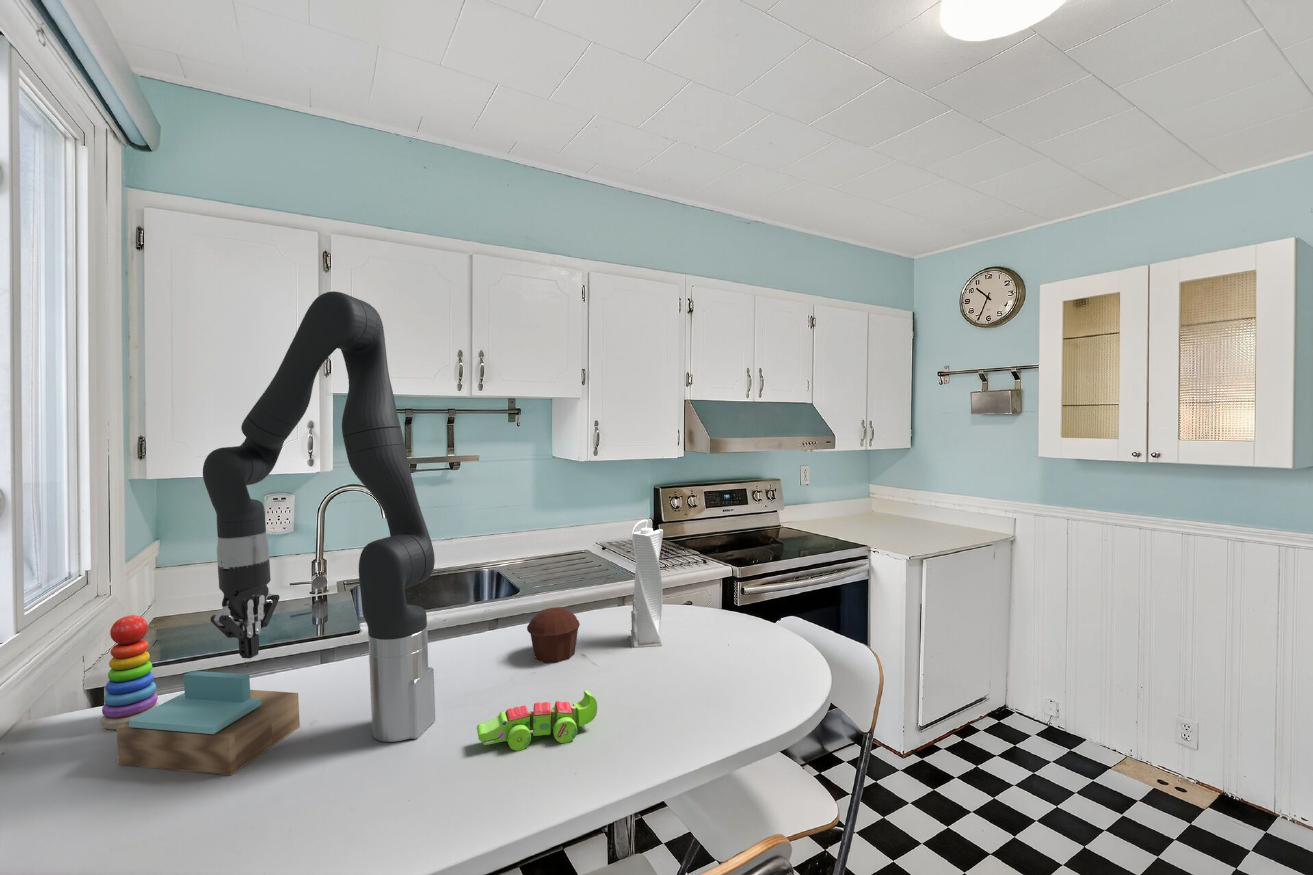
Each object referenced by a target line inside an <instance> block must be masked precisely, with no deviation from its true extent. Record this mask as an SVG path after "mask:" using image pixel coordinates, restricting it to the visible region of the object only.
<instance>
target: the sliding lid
mask: <svg viewBox="0 0 1313 875" xmlns="http://www.w3.org/2000/svg"><path fill="white" fill-rule="evenodd" d="M183 688H184V692H183V693H180V694H178V695H176V696H174V697H173V698H171V699H169V700H167V701H165V702H163V703H161V704H159V706H157V707H155V708H153V709H151V710H149V711H147V712H145V713H143V714H141V715H139V716H137V717H135V718H133V719H131V720H129V727H135V728H147V729H159V730H171V731H183V732H194V733H206V734H215V733H216V732H218V731H220V730H221V729H223V728H224V727H226V726H228V725H229V724H231V723H233V722H234V721H236V720H238V719H239V718H241V717H242V716H244V715H246V714H247V713H249V712H251V711H252V710H254V709H256V708H257V707H259V706H260V705H262V703H261V699H256V698H251V695H250V690H251V678H250V674H249V673H248V674H245V673H231V672H219V671H217V672H215V671H202V670H200V671H199V670H190V671H189V672H186V673H184V674H183Z"/></svg>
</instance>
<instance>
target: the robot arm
mask: <svg viewBox="0 0 1313 875" xmlns="http://www.w3.org/2000/svg"><path fill="white" fill-rule="evenodd" d="M337 349H339V350H340V351H341V354H342V357H343V361H344V364H345V368H346V373H347V378H348V391H347V397H346V401H345V404H344V405H345V406H344V408H343V413H342V419H341V431H342V432H341V434H342V438H343V443H344V447H345V452H346V453H345V454H346V457H347V460H348V461H347V462H348V464H349V467H350V469H351V470H352V472H353V474H354V475H355V476H356V478H358V480H359V481H360V483H361V484H362V485H363V486H364V487H365V489H367V490H368V491H369V493H370V494H371V495H372V496H373V497H374V498H375V500H376V501H377V502H378V504H379V506H380V507H381V509H382V511H383V514H384V516H385V519H386V522H387V526H388V530H389V531H388V532H389V535H390V536H387V537H383V538H379V539H377V540H372V541H371V542H368V543H367V544H366V545H365V546H364V547H363V548H362V551H361V553H360V555H359V560H358V580H359V590H360V600H361V609H362V614H363V618H364V621H365V622H366V625H367V630H368V631H367V634H368V635H367V636H368V637H367V638H368V660H369V661H368V662H369V682H370V683H369V685H370V686H369V688H370V710H371V711H370V712H371V714H370V715H371V730H372V731H371V733H372V737H373V738H374V739H375V740H378V741H380V742H384V743H385V742H386V743H390V742H395V743H396V742H401V741H404V740H405V741H406V740H409V739H414V740H416V739H418V738H420V736H421V735H422V734H423V733H424V732H425V731H427V729H428V728H429V727H430V726H431V725H432V724H433V723H434V722H435V721H436V697H435V675H434V673H435V672H434V671H435V669H434V668H433V667H431V666H429V646H428V645H429V644H428V617H427V615H428V614H427V612H426V610H425V609H424V608H423V607H422V606H419V605H414V604H407V599H406V589H408V588H411V587H414V586H416V585H418V584H421V583H423V582H425V581H427V580H428V579H429V578H430V577H431V575H433V571H434V568H435V561H436V560H435V552H434V551H435V550H434V547H433V543H432V542H433V541H432V539H431V537H430V533H429V531H428V530H429V529H428V528H427V525H426V521H425V519H424V516H423V515H424V514H423V513H422V510H421V506H420V504H419V500H418V496H417V493H416V488H415V486H414V485H415V484H414V481H413V478H412V477H413V476H412V473H411V469H410V464H409V461H408V459H409V458H408V455H407V450H406V443H405V438H404V436H403V431H402V427H401V426H402V425H401V423H400V418H399V415H398V414H399V413H398V411H397V410H398V409H397V406H396V402H395V396H394V393H393V392H394V391H393V387H392V383H391V378H390V374H389V373H390V372H389V366H388V365H389V364H388V357H387V348H386V338H385V330H384V324H383V321H382V318H381V315H380V314H379V312H378V311H377V309H376V308H375V307H373V306H372V304H370V303H368V302H366V301H365V300H362V299H359V298H357V297H354V296H352V295H349V294H346V293H344V292H340V291H327V292H324V293H322V294H320V295H318V296H317V297H315V299H314V300H313V301H312V303H311V304H310V306H309V307H308V309H307V311H306V312H305V314H304V316H303V318H302V319H301V322H300V324H299V327H298V328H297V331H296V333H295V336H294V337H293V339H292V341H291V343H290V345H289V347H288V349H287V351H286V353H285V355H284V357H283V359H282V361H281V363H280V365H279V367H278V369H277V371H276V373H275V374H274V375H273V376H274V377H273V378H272V379H271V381H270V383H269V384H268V385H267V387H266V388H265V390H264V392H263V393H262V394H261V396H260V397H259V398H258V400H257V401H256V402H255V404H254V405H253V406H252V408H251V410H250V411H249V412H248V413H247V415H246V416H245V417H244V419H243V420H242V422H241V423H242V424H241V428H240V429H241V433H242V434H243V435H244V436H245V439H244V441H243V442H242V443H241V444H240V445H237V446H235V445H234V446H227V447H219V448H217V449H213V450H212V451H210V452H209V453H208V455H207V456H206V458H205V460H204V462H203V464H202V465H203V467H202V479H203V482H204V486H205V488H206V491H207V494H208V496H209V499H210V502H211V504H212V507H213V508H214V510H215V514H216V530H217V532H216V533H217V546H216V560H217V562H216V563H217V572H218V573H217V575H218V578H217V579H218V588H219V590H220V591H221V592H222V594H223V598H222V602H221V607H222V608H221V609H220V611H219V612H218V614H212V615H211V616H210V618H209V619H210V623H212V624H213V626H215V627H216V628H217V629H218V630H219V631H220V632H221V633H222V634H223V635H225V637H226V638H228V639H238V651H239V652H238V653H239V656H240V657H241V658H242V659H252V658H254V657H256V656H258V655H259V651H260V636H259V635H260V633H261V631H262V629H263V628H266V627H268V626H269V624H270V621H271V619H272V616H273V614H274V612H275V610H276V607H277V605H278V603H279V601H280V595H279V594H273V593H271V592H269V591H270V590H269V587H268V586H267V585H268V584H269V583H270V582H271V581H272V580H271V579H272V577H271V567H270V566H271V563H270V551H269V550H270V548H269V547H270V546H269V540H268V536H267V528H266V525H267V524H266V511H265V506H264V503H263V502H262V501H261V500H259V499H254V498H251V496H250V494H249V490H248V487H247V486H252V485H254V484H258V483H259V482H261V481H264V479H266V477H268V475H269V474H271V472H272V471H273V470H274V467H275V466H276V463H277V462H278V459H279V456H280V455H281V452H282V449H283V445H284V443H285V441H286V440H287V439H288V438H289V436H290V435H291V434H292V432H293V430H294V429H295V428H296V427H297V426H298V424H299V422H301V420H302V418H303V417H304V415H305V414H306V412H307V410H308V407H309V404H310V402H311V398H312V393H313V388H314V383H315V380H316V376H317V375H318V373H319V370H320V369H321V367H322V366H323V364H324V363H325V361H326V360H328V358H329V357H330V356H331V355H332V354H333V353H334V352H335V351H336V350H337Z"/></svg>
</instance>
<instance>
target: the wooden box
mask: <svg viewBox="0 0 1313 875" xmlns="http://www.w3.org/2000/svg"><path fill="white" fill-rule="evenodd" d="M250 695H251V698H256V699H261V703H262V705H260V706H259V707H257V708H256V709H254V710H252V711H251V712H249V713H247V714H246V715H244V716H242V717H241V718H239V719H238V720H236V721H234V722H233V723H231V724H229V725H228V726H226V727H224V728H223V729H221V730H220V731H218V732H216V733H215V734H206V733H194V732H183V731H171V730H159V729H147V728H135V727H129V721H128V722H126V723H124V724H122V725H120V726H118V727H116V729H115V730H116V741H117V742H116V744H117V759H118V765H119V766H127V767H136V766H138V767H137V768H149V769H156V768H160V769H159V770H168V771H179V772H190V773H198V774H199V773H200V774H209V775H221V776H229V777H230V776H232V775H235V773H237V772H238V771H240V770H241V769H242V768H244V767H245V766H247V765H248V764H249V763H251V762H252V761H254V760H255V759H257V758H258V757H259V756H261V755H262V754H264V753H265V752H266V751H268V750H269V749H271V748H272V747H273V746H275V745H276V744H277V743H279V742H281V741H282V740H283V739H285V738H286V737H288V736H290V735H291V734H292V733H293V732H295V731H296V730H298V729H299V728H300V727H301V726H300V724H301V723H300V707H299V706H300V703H299V701H300V700H299V693H298V692H290V691H289V692H288V691H287V692H286V691H275V690H259V689H250ZM139 766H140V767H139Z"/></svg>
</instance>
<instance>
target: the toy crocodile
mask: <svg viewBox="0 0 1313 875" xmlns="http://www.w3.org/2000/svg"><path fill="white" fill-rule="evenodd" d="M597 713H598V702H597V699H596V698H595V697H594V696H593V695H592V693H591V692H590V691H588V690H586V689H585V690H583V698H582V699H581V700H579V701H577V702H573V703H572V705H571V703H570V702H568V701H560V700H555V703H554V706H552V707H551V702H550V701H544V702H534V703H533V711H529V710H528V708H527V705H525V704H524V705H521V706H516V707H514V708H513V707H512V708H507V709H506V711H503V710H501V711H499V714H498V715H496V717H493V718H491V719H489V720H488V721H485V722H479V723H478V724H477V726H476V731H477V736H478V741H480V742H481V743H482V744H483V745H484V746H488V745H491V744H497V743H501V742H502V743H503V742H507V744H508V747H509V748H510V749H511V750H513V751H517V752H519V751H522V750H525V749H526V748H527V747H528V746H529V744H530V743H531V740H532V736H533V737H536V736H537V737H538V736H547V735H549V736H550V735H551V734H552V733H553V737H554V739H555V741H557V742H558V743H559V744H567V743H570V742H572V741H574V739H575V738H576V736H577V734H578V727H582V726H585V725H588V724H589V723H591V722H592V721H594V720H595V718H596V716H597ZM577 726H578V727H577ZM551 729H552V730H551ZM531 731H532V735H531Z"/></svg>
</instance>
